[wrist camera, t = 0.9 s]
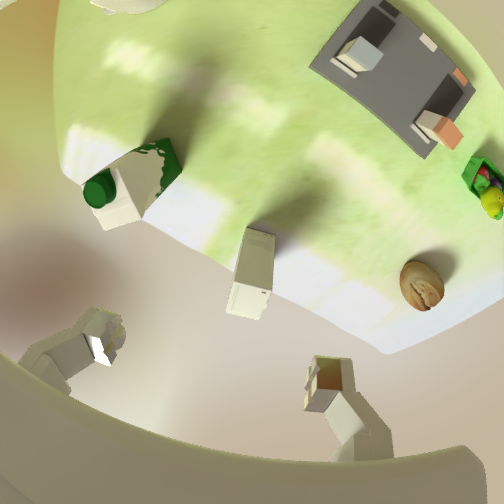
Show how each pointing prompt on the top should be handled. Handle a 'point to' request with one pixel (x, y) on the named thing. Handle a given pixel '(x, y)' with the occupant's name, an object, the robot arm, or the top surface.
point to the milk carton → (131, 183)
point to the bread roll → (421, 286)
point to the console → (396, 72)
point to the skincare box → (252, 275)
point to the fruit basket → (486, 185)
